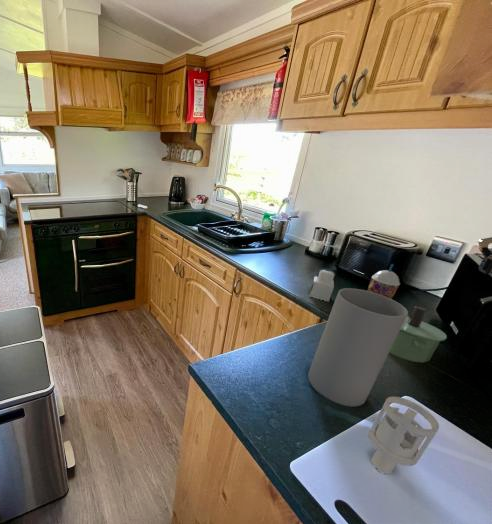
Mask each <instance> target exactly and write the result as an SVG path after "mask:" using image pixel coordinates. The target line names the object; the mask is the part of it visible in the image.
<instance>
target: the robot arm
mask: <svg viewBox="0 0 492 524" xmlns="http://www.w3.org/2000/svg"><path fill="white" fill-rule="evenodd" d="M477 243H478V249H479V251H480V253H481V254H482V256H483V258H482V260H481V262H480V263H479V266H478V271H479V272H481V273H483V274H485V275H490V273H491V271H492V248H491V249H490V248H489V245H490V244H492V236H490V237H485V238H481V239H478V241H477Z"/></svg>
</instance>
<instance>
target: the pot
mask: <svg viewBox="0 0 492 524" xmlns="http://www.w3.org/2000/svg"><path fill="white" fill-rule="evenodd" d="M440 342H441V341H436V340H430V339H425V338H421V337H418V336H415V335H412V334H409V333H407V332H404V331H402V330H400V331H399V333H398V335H397V337H396V339H395V341H394V343H393V345H392V347H391V349H390V352H389V354H391V355H393V356H395V357H399V358H401V359H404V360H407V361H410V362H414V363H427V362H430V360H431V359H432V357H433V355H434V353H435V351H436V349H437V348H438V347H439V344H440Z"/></svg>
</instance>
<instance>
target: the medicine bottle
mask: <svg viewBox="0 0 492 524" xmlns="http://www.w3.org/2000/svg"><path fill="white" fill-rule="evenodd" d="M336 275H337V274H336V272H335V271H334V270H332V269H329V268H325V267H324V268H319V269H318V270H317V273H316V276H314V277H313V280H312V283H311V285H310V288H309V295H308V297H309V298H311V297H313V298H312V299H315V298H316V299H315V300H319V299H320V300H319V301H322V300H324V301H323V302H326V301H327V303H329V302H330V299H331V298H332V295H333V291H334V288H335V281H334V280H335V277H336Z"/></svg>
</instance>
